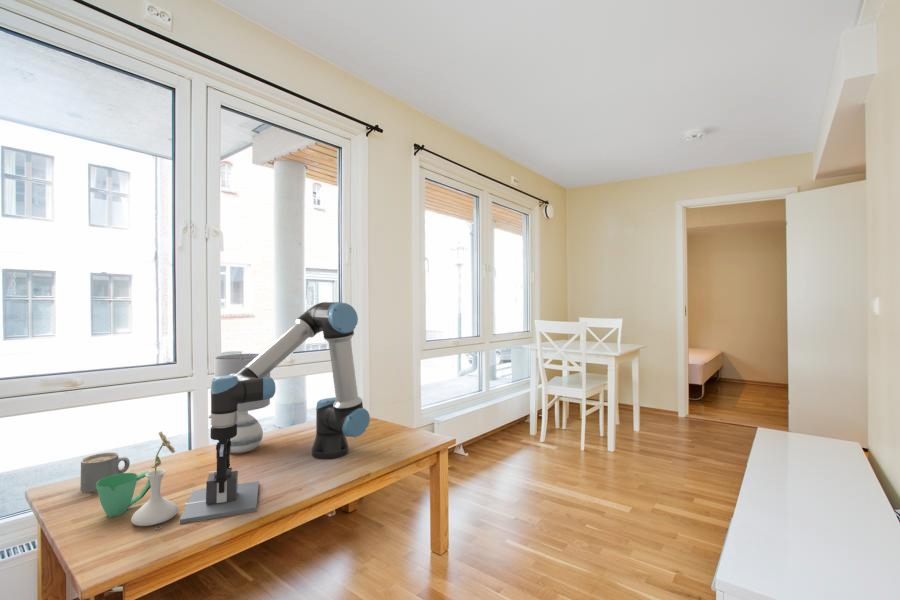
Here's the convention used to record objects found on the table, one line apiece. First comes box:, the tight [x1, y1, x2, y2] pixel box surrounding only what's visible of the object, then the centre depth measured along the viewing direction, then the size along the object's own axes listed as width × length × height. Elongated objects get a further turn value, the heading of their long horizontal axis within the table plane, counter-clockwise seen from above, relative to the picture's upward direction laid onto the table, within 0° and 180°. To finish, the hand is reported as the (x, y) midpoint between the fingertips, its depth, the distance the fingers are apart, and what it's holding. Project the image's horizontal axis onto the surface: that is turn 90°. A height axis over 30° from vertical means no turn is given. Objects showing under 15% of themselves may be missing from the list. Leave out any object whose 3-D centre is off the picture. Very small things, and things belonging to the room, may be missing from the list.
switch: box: [179, 480, 260, 525], centre depth 133 cm, size 20×20×6 cm
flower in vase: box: [130, 431, 179, 527], centre depth 123 cm, size 13×11×25 cm
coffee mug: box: [80, 451, 131, 494], centre depth 145 cm, size 13×10×10 cm
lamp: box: [213, 353, 271, 454], centre depth 180 cm, size 22×22×40 cm
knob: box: [205, 467, 239, 504], centre depth 133 cm, size 8×6×9 cm
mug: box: [96, 471, 151, 517], centre depth 129 cm, size 15×10×10 cm
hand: (223, 496), depth 133 cm, fingers closed on knob, 6 cm apart
